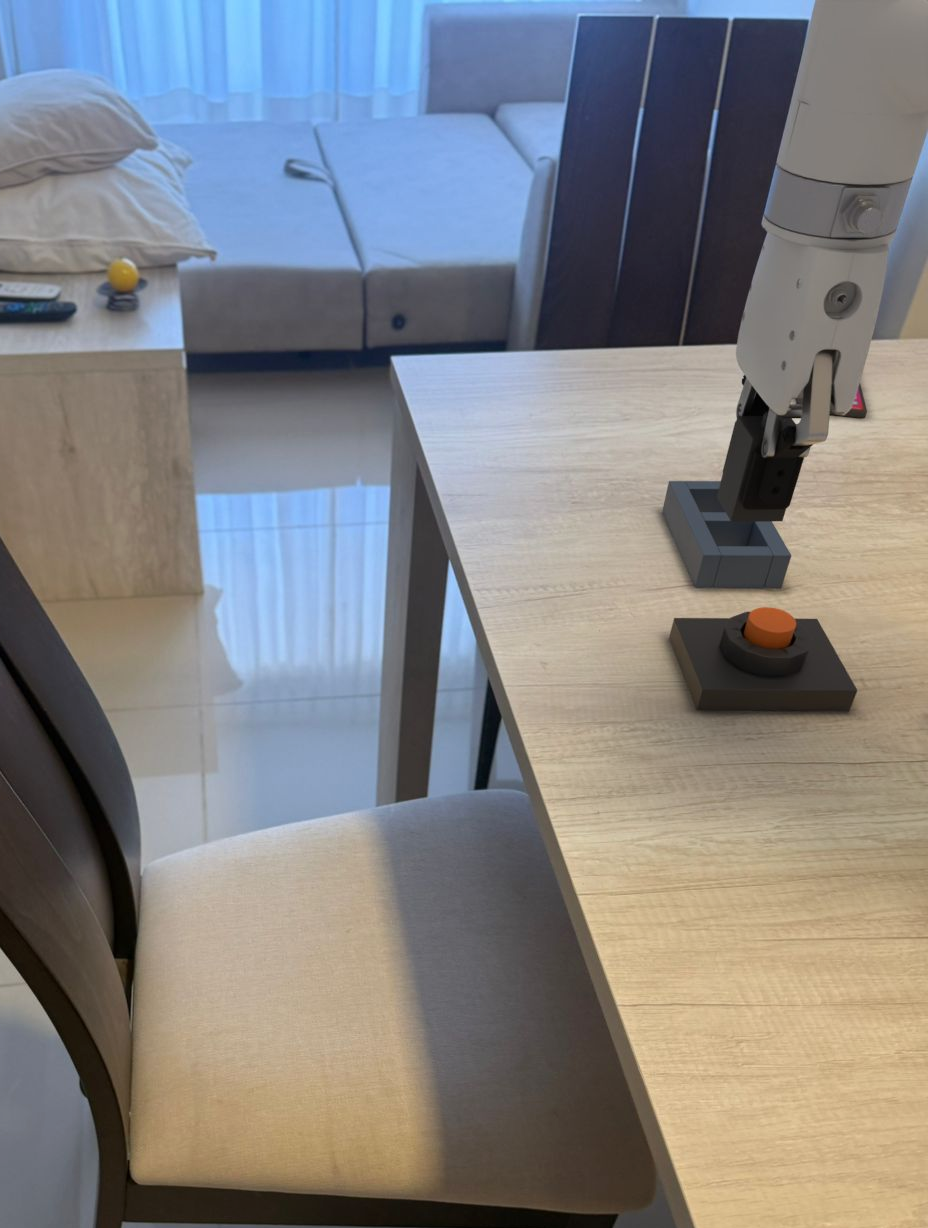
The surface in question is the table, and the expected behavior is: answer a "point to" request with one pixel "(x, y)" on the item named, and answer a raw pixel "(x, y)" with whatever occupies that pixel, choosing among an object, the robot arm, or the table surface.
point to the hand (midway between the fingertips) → (755, 489)
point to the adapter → (722, 540)
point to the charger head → (745, 469)
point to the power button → (770, 628)
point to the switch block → (759, 668)
